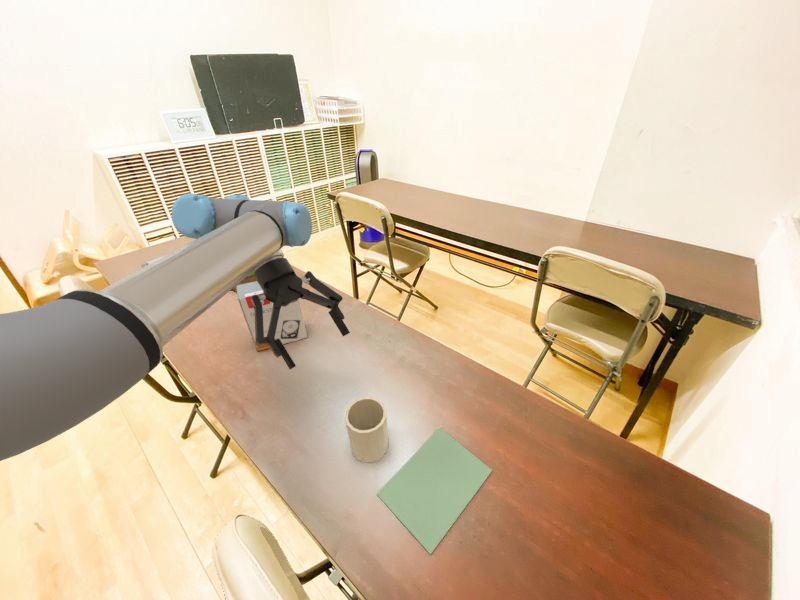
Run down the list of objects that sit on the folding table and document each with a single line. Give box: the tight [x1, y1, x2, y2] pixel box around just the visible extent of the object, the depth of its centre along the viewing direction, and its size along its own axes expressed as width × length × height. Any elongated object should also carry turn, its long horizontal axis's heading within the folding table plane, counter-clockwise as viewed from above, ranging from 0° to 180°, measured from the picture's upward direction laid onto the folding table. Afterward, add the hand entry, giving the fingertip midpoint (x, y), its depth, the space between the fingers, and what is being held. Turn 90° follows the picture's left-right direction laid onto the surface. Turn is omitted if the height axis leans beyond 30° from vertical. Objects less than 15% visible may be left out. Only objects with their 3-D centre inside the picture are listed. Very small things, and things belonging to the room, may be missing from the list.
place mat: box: [376, 427, 493, 556], centre depth 66 cm, size 20×14×1 cm
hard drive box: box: [236, 281, 308, 352], centre depth 96 cm, size 16×8×20 cm, turn 114°
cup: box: [344, 396, 389, 463], centre depth 69 cm, size 8×8×12 cm
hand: (321, 350), depth 69 cm, fingers open, 13 cm apart
